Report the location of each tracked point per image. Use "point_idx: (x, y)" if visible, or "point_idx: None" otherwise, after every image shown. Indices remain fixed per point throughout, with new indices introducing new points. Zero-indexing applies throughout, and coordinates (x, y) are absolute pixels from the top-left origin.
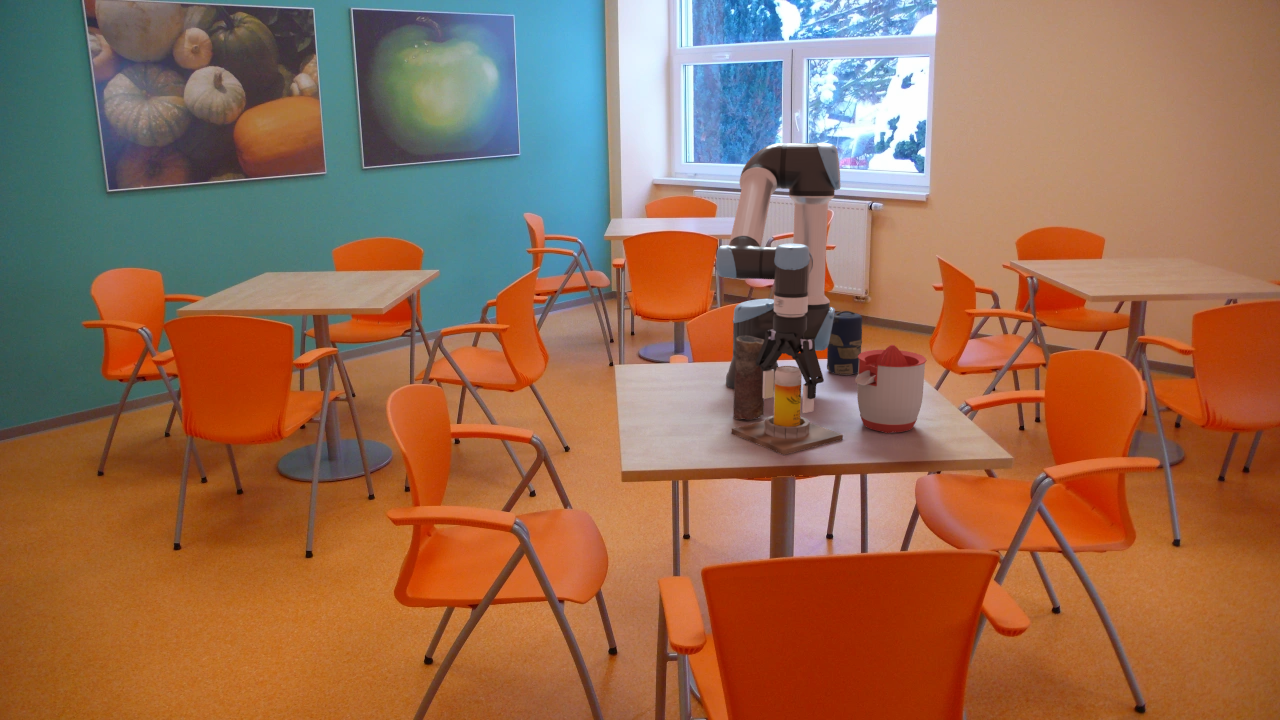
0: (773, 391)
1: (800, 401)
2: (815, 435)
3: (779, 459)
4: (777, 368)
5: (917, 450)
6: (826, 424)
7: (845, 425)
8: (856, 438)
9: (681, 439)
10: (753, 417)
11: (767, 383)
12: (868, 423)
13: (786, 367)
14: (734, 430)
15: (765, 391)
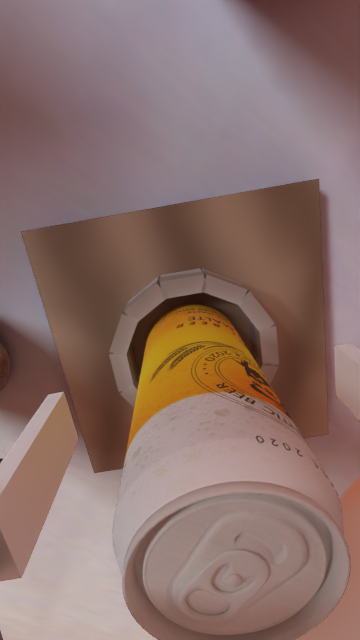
0: (53, 406)
1: (252, 359)
2: (274, 279)
3: (341, 446)
4: (162, 630)
5: None
6: (133, 123)
7: (176, 50)
8: (326, 119)
9: (95, 575)
10: (8, 367)
11: (48, 482)
12: None
13: (155, 552)
14: (108, 468)
15: (67, 460)
